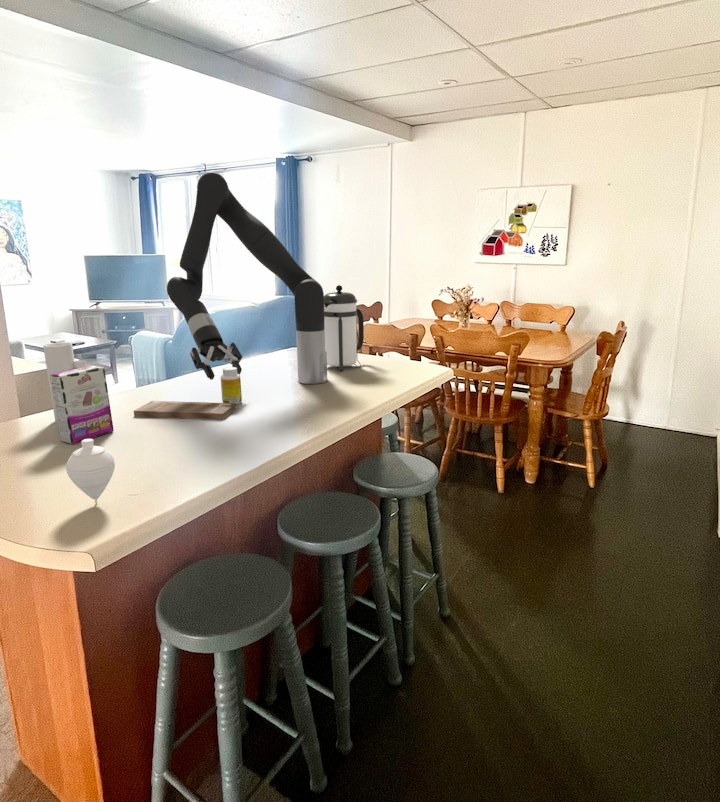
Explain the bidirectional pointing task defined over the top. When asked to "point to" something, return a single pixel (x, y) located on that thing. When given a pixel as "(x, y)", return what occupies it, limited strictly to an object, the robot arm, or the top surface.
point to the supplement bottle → (231, 386)
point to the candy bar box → (81, 403)
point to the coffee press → (342, 328)
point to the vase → (60, 362)
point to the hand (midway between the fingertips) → (226, 375)
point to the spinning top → (91, 468)
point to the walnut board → (185, 410)
